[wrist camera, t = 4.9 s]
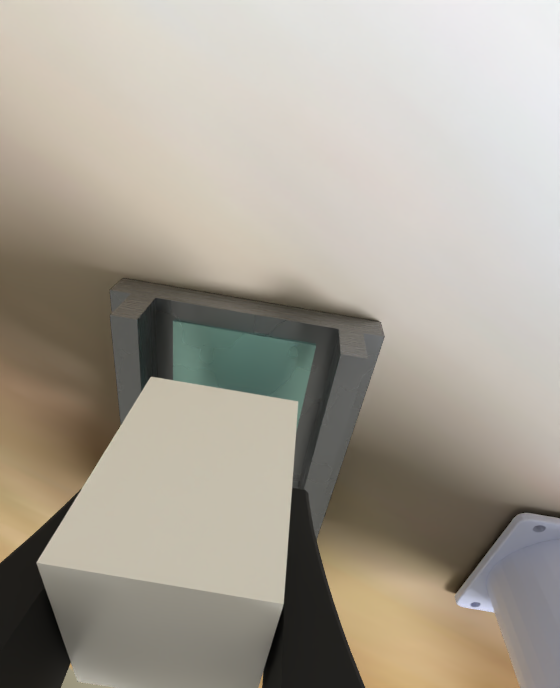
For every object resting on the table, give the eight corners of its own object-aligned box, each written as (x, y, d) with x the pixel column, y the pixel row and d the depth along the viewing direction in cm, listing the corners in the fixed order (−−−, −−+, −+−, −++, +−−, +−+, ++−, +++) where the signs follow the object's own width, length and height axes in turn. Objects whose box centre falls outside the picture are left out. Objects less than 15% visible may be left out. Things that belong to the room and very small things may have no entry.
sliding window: (380, 321, 14) (391, 362, 11) (307, 549, 21) (306, 599, 19) (122, 278, 14) (86, 310, 11) (141, 520, 21) (120, 567, 19)
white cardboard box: (298, 401, 10) (283, 604, 6) (271, 525, 13) (248, 718, 9) (151, 376, 10) (36, 562, 6) (156, 505, 13) (80, 691, 9)
